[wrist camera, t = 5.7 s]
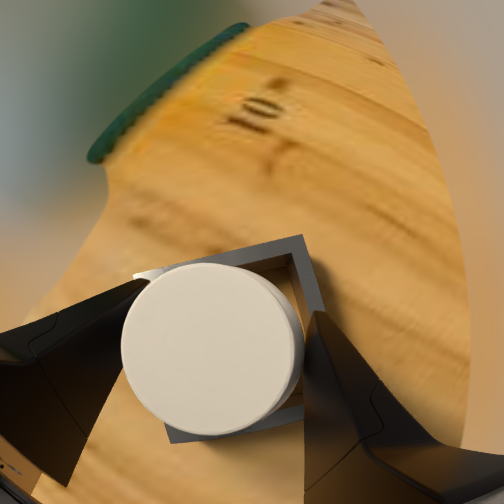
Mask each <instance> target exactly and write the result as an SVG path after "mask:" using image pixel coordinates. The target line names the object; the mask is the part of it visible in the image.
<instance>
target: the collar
mask: <svg viewBox="0 0 504 504" xmlns="http://www.w3.org/2000/svg"><path fill="white" fill-rule="evenodd" d="M196 263H215V264H221V265H227V266H232V267H238V268H242V269H245V270H248V271H251V272H253V273H258V272H262V271H266V270H270V269H275V268H279V267H283V266H287V269H288V272H289V276H290V279H291V283H292V286H293V290H294V293H295V297H296V300H297V304H298V308H299V311H300V315H301V319H302V322H303V326H304V330H305V333H307V329H308V325H309V322H310V319H311V316H312V313H313V311H314V310H319V311H325V312H326V310H325V307H324V303H323V300H322V296H321V293H320V290H319V286H318V283H317V280H316V276H315V273H314V270H313V266H312V263H311V260H310V257H309V254H308V250H307V247H306V244H305V241H304V238H303V235H302V234H300V235H296V236H292V237H287V238H283V239H279V240H275V241H270V242H266V243H262V244H258V245H253V246H249V247H245V248H241V249H237V250H232V251H228V252H224V253H220V254H216V255H212V256H207V257H203V258H199V259H195V260H191V261H187V262H182V263H178V264H174V265H170V266H166V267H162V268H158V269H154V270H150V271H145V272H141V273H137V274H133V275H134V279H137V278H144V279H148V280H150V282H152V281H154V280H155V279H156V278H158V277H159V276H161V275H163V274H164V273H166V272H168V271H170V270H173V269H175V268H178V267H181V266H185V265H190V264H196ZM303 419H304V394H303V393H301V394H297V395H294V396H290V397H288V399H287V400H286V401H285V402H284V403H283V404H282V405H281V406H280V407H279V408H278V409H277V410H275V411H274V412H273V413H272V414H270V415H269V416H267V417H265V418H264V419H262V420H260V421H258V422H256V423H254V424H253V425H251V426H249V427H247V428H245V429H242V430H239V431H236V432H233V433H228V434H223V435H198V434H192V433H188V432H185V431H182V430H179V429H177V428H174V427H172V426H170V425H168V424H166V423H165V422H164V424H165V427H166V431H167V434H168V437H169V440H170V443H171V444H175V443H186V442H195V441H203V440H210V439H217V438H224V437H230V436H235V435H241V434H246V433H251V432H256V431H260V430H265V429H269V428H273V427H277V426H281V425H285V424H289V423H293V422H296V421H300V420H303Z"/></svg>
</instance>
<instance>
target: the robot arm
mask: <svg viewBox="0 0 504 504" xmlns="http://www.w3.org/2000/svg"><path fill="white" fill-rule="evenodd" d="M150 283H151V282H150V280H148V279H144V278H137V279H134V280H132V281H129V282H127V283H125V284H122V285H120V286H117V287H115V288H113V289H110V290H108V291H105V292H103V293H101V294H98V295H96V296H94V297H91V298H89V299H86V300H84V301H82V302H79V303H77V304H75V305H72V306H70V307H68V308H65V309H63V310H61V311H59V313H58V312H56V313H54V314H51V315H49V316H47V317H44V318H42V319H39V320H37V321H34V322H31V323H29V324H26V325H23V326H20V327H18V328H15V329H12V330H9V331H6V332H3V333H0V504H42V503H41V502H39V501H38V500H36V499H35V498H34V497H32V496H31V494H32V492H33V490H34V488H35V485H36V484H37V482H38V480H39V478H40V476H41V474H42V473H44V474H45V475H47V476H48V477H50V478H51V479H53V480H54V481H56V482H57V483H59V484H61V485H62V486H64V487H67V485H68V483H69V481H70V479H71V476H72V474H73V471H74V469H75V467H76V464H77V462H78V460H79V458H80V455H81V453H82V451H83V449H84V446H85V444H86V442H87V440H88V439H87V438H88V437H89V435H90V433H91V431H92V429H93V426H94V424H95V422H96V420H97V418H98V416H99V414H100V412H101V410H102V408H103V406H104V404H105V402H106V400H107V398H108V396H109V394H110V392H111V390H112V388H113V386H114V384H115V382H116V380H117V378H118V376H119V374H120V372H121V370H122V368H123V362H122V354H121V338H122V331H123V327H124V323H125V320H126V317H127V314H128V312H129V310H130V308H131V306H132V304H133V303H134V301H135V299H136V298H137V297H138V295H139V294H140V293H141V292H142V291H143V290H144V289H145V287H146V286H148V285H149V284H150ZM303 394H304V443H305V474H304V492H305V493H304V504H504V455H496V454H490V453H483V452H477V451H471V450H466V449H461V448H456V447H451V446H447V445H445V444H442V443H440V442H439V441H437V440H436V439H434V438H433V437H432V436H431V435H430V434H429V433H428V432H427V431H426V430H425V429H424V428H423V427H422V426H421V425H420V424H419V423H418V422H417V421H416V419H415V418H414V417H413V416H412V415H411V414H410V413H409V412H408V411H407V410H406V409H405V408H404V407H403V406H402V405H401V404H400V403H399V401H398V400H397V399H396V398H395V397H394V396H393V394H392V393H391V392H390V391H389V390H388V388H387V387H386V386H385V385H384V383H383V382H382V381H381V380H379V377H378V376H377V375H376V373H375V372H374V371H373V369H372V368H371V367H370V366H369V364H368V363H367V362H366V361H365V359H364V358H363V357H362V356H361V354H360V353H359V352H358V351H357V349H356V348H355V347H354V346H353V344H352V343H351V342H350V341H349V339H348V338H347V337H346V336H345V334H344V333H343V332H342V331H341V329H340V328H339V327H338V326H337V324H336V323H335V322H334V321H333V319H332V318H331V317H330V316H329V315H328V313H327V312H325V311H319V310H314V311H313V313H312V316H311V319H310V322H309V325H308V329H307V333H306V344H305V356H304V367H303Z"/></svg>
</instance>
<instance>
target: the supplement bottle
mask: <svg viewBox="0 0 504 504" xmlns="http://www.w3.org/2000/svg"><path fill="white" fill-rule="evenodd" d="M121 354H122V362H123V367H124V370H125V374H126V377H127V379H128V382H129V384H130V386H131V388H132V390H133V391H134V393H135V395H136V396H137V398H138V399H139V400H140V402H141V403H142V404H143V405H144V406H145V407H146V408H147V409H148V410H149V411H150V412H151V413H152V414H153V415H155V416H156V417H157V418H158V419H160V420H161V421H163V422H165V423H166V424H168V425H170V426H172V427H174V428H177V429H179V430H182V431H185V432H188V433H192V434H198V435H223V434H228V433H233V432H236V431H239V430H242V429H245V428H247V427H249V426H251V425H253V424H254V423H256V422H258V421H260V420H262V419H264V418H265V417H267V416H269V415H270V414H272V413H273V412H274V411H275V410H277V409H278V408H279V407H280V406H281V405H282V404H283V403H284V402H285V401H286V400H287V399H288V397H289V396H290V394H291V393H292V392H293V390H294V388H295V386H296V384H297V382H298V380H299V378H300V375H301V372H302V368H303V364H304V356H305V343H304V336H303V331H302V327H301V323H300V321H299V318H298V316H297V314H296V312H295V310H294V308H293V306H292V305H291V303H290V302H289V300H288V299H287V298H286V297H285V295H284V294H283V293H282V292H281V291H280V290H279V289H278V288H277V287H276V286H275V285H273V284H272V283H271V282H269V281H268V280H266V279H265V278H263V277H261V276H259V275H257V274H255V273H253V272H251V271H248V270H245V269H242V268H238V267H232V266H227V265H221V264H215V263H196V264H190V265H185V266H181V267H178V268H175V269H173V270H170V271H168V272H166V273H164V274H163V275H161V276H159V277H158V278H156V279H155V280H154V281H152V282H151V283H150V284H149V285H148V286H146V287H145V289H144V290H143V291H142V292H141V293H140V294H139V295H138V297H137V298H136V299H135V301H134V303H133V304H132V306H131V308H130V310H129V312H128V314H127V317H126V320H125V323H124V327H123V331H122V338H121Z"/></svg>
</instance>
